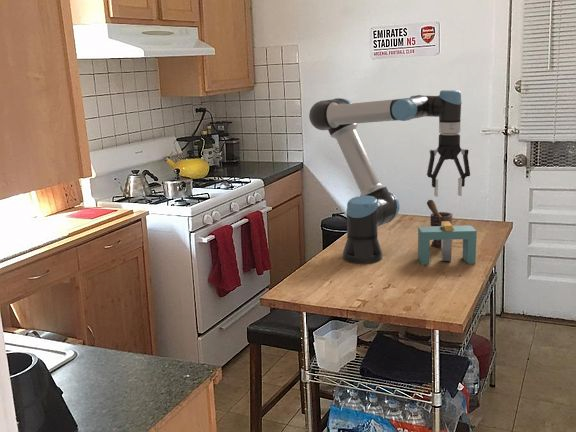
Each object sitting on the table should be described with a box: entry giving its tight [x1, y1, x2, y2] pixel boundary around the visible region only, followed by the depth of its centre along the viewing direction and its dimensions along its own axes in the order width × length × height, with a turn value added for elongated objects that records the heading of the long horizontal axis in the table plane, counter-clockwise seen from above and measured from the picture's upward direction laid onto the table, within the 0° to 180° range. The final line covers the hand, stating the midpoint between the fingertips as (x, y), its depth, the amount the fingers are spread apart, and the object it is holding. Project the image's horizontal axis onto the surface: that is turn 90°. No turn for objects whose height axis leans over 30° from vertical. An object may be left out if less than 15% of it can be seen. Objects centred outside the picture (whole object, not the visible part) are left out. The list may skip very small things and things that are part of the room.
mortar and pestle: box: [426, 199, 453, 249], centre depth 266 cm, size 12×9×20 cm
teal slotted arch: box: [417, 225, 478, 266], centre depth 249 cm, size 20×8×12 cm, turn 88°
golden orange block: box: [440, 221, 454, 262], centre depth 249 cm, size 3×7×14 cm, turn 178°
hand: (447, 195), depth 244 cm, fingers open, 8 cm apart
